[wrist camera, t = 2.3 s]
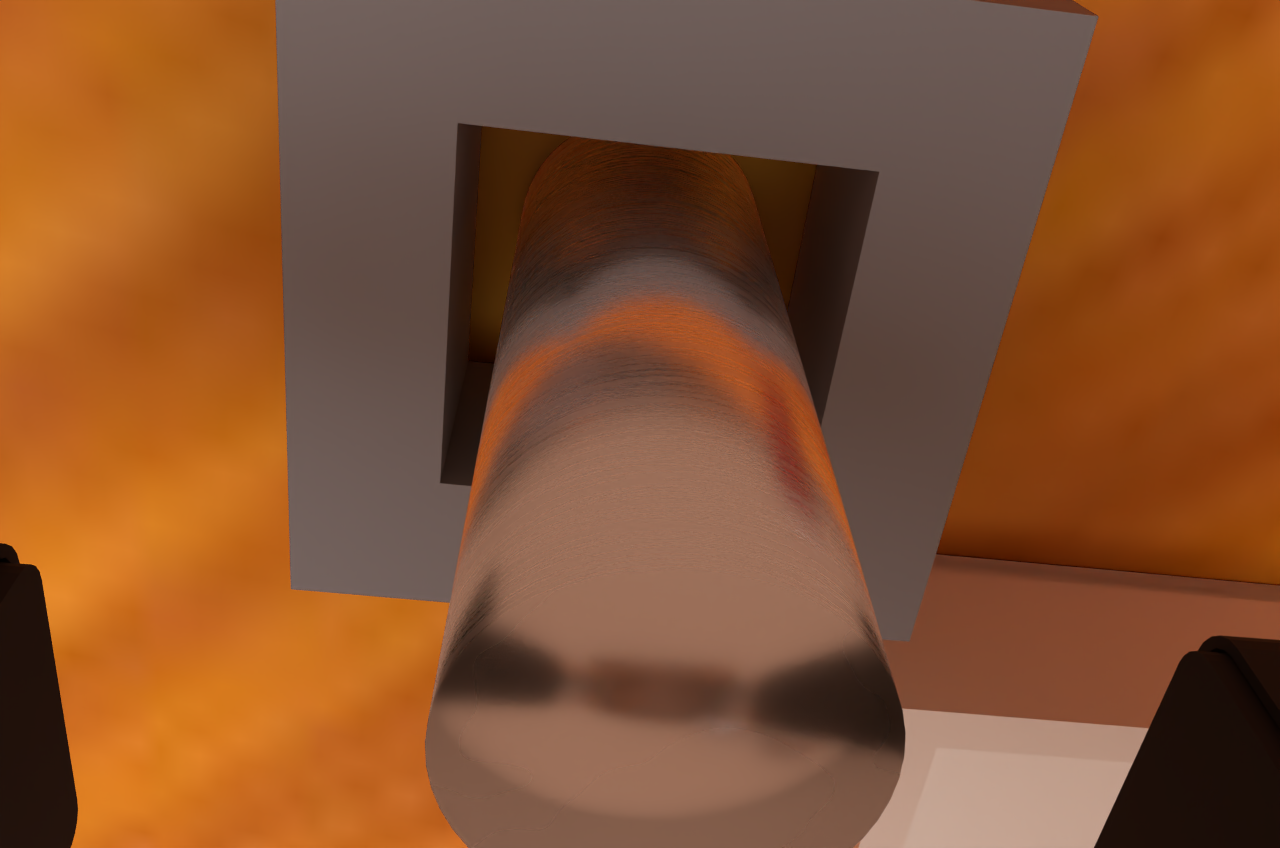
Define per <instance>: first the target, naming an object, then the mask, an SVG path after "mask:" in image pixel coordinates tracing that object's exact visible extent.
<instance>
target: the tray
mask: <svg viewBox="0 0 1280 848" xmlns="http://www.w3.org/2000/svg"><path fill="white" fill-rule="evenodd" d="M1219 635H1221V636H1234V637H1248V638H1261V639H1274V640H1280V586H1279V585H1268V584H1257V583H1246V582H1235V581H1224V580H1213V579H1202V578H1191V577H1180V576H1169V575H1158V574H1147V573H1136V572H1125V571H1114V570H1103V569H1092V568H1081V567H1070V566H1059V565H1048V564H1037V563H1026V562H1015V561H1004V560H993V559H982V558H971V557H960V556H949V555H938V554H936V555H935V559H934V562H933V565H932V568H931V572H930V575H929V578H928V582H927V585H926V588H925V592H924V595H923V598H922V601H921V605H920V608H919V611H918V615H917V618H916V621H915V625H914V628H913V631H912V635H911V638H910V641H909V642H907V641H895V640H884V639H882V641H883V644H884V648H885V651H886V655H887V658H888V661H889V665H890V668H891V672H892V675H893V679H894V682H895V686H896V689H897V693H898V696H899V699H900V703H901V706H902V710H903V717H904V725H905V732H906V735H905V755H904V760H903V764H902V769H901V773H900V777H899V780H898V783H897V785H896V787H895V790H894V792H893V795H892V797H891V800H890V801H889V803H888V805H887V806H886V808H885V809H884V811H883V813H882V814H881V816H880V818H879V819H878V821H877V822H876V823H875V824H874V826H873V827H872V828H871V829H870V830H869V832H868V833H867V834H866V835H865V837H864V838H863V839H862V840H861V841H860V842H859V843H858V844H857V845H856V846H855V847H853V848H1094V846H1095V844H1096V842H1097V840H1098V838H1099V835H1100V833H1101V831H1102V829H1103V827H1104V825H1105V822H1106V820H1107V818H1108V816H1109V814H1110V812H1111V809H1112V807H1113V805H1114V803H1115V801H1116V799H1117V796H1118V794H1119V792H1120V790H1121V788H1122V785H1123V783H1124V781H1125V779H1126V777H1127V775H1128V772H1129V770H1130V768H1131V766H1132V764H1133V762H1134V759H1135V757H1136V755H1137V753H1138V751H1139V749H1140V746H1141V744H1142V742H1143V740H1144V738H1145V736H1146V733H1147V731H1148V729H1149V727H1150V725H1151V722H1152V720H1153V718H1154V716H1155V714H1156V712H1157V709H1158V707H1159V705H1160V703H1161V701H1162V699H1163V696H1164V694H1165V692H1166V690H1167V688H1168V686H1169V683H1170V681H1171V679H1172V677H1173V675H1174V673H1175V670H1176V668H1177V666H1178V664H1179V662H1180V661H1181V659H1182V657H1183V656H1184V655H1185V654H1187V653H1188V652H1190V651H1198V649H1199V648H1200V646H1201V645H1202V643H1203V642H1204V641H1206V640H1207V639H1208V638H1210V637H1211V636H1219Z"/></svg>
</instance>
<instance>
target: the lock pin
mask: <svg viewBox="0 0 1280 848" xmlns="http://www.w3.org/2000/svg"><path fill="white" fill-rule="evenodd" d="M905 735H906V732H905V725H904V717H903V710H902V706H901V703H900V699H899V696H898V693H897V689H896V686H895V682H894V679H893V675H892V672H891V668H890V665H889V661H888V658H887V655H886V651H885V648H884V644H883V641H882V637H881V634H880V630H879V627H878V624H877V620H876V617H875V613H874V610H873V606H872V603H871V599H870V596H869V593H868V589H867V586H866V582H865V579H864V575H863V572H862V568H861V565H860V562H859V558H858V555H857V551H856V548H855V544H854V541H853V537H852V534H851V531H850V527H849V524H848V520H847V517H846V513H845V510H844V506H843V503H842V500H841V496H840V493H839V489H838V486H837V482H836V479H835V475H834V472H833V469H832V465H831V462H830V458H829V455H828V451H827V448H826V444H825V441H824V437H823V434H822V431H821V427H820V424H819V420H818V417H817V413H816V410H815V406H814V403H813V400H812V396H811V393H810V389H809V386H808V382H807V379H806V375H805V372H804V369H803V365H802V362H801V358H800V355H799V351H798V348H797V344H796V341H795V338H794V334H793V331H792V327H791V324H790V320H789V317H788V313H787V310H786V307H785V303H784V300H783V296H782V293H781V289H780V286H779V282H778V279H777V276H776V272H775V269H774V265H773V262H772V258H771V255H770V251H769V248H768V245H767V241H766V238H765V234H764V231H763V227H762V224H761V220H760V217H759V214H758V210H757V207H756V203H755V200H754V197H753V194H752V190H751V187H750V185H749V183H748V181H747V179H746V177H745V175H744V173H743V172H742V170H741V169H740V167H739V166H738V164H737V163H736V161H735V160H734V159H733V158H732V157H731V155H730V154H722V153H713V152H704V151H696V150H687V149H678V148H670V147H661V146H652V145H644V144H635V143H626V142H618V141H609V140H600V139H592V138H583V137H574V136H572V137H570V138H569V139H567V140H566V141H564V142H563V143H562V144H561V145H560V146H559V147H558V148H557V149H555V150H554V151H553V152H552V153H551V155H550V156H549V157H548V158H547V159H546V160H545V162H544V163H543V164H542V166H541V167H540V169H539V170H538V172H537V173H536V175H535V177H534V179H533V181H532V183H531V185H530V187H529V190H528V192H527V196H526V199H525V202H524V206H523V211H522V217H521V222H520V228H519V233H518V238H517V244H516V249H515V255H514V260H513V265H512V271H511V276H510V282H509V287H508V292H507V298H506V303H505V308H504V314H503V319H502V325H501V330H500V335H499V341H498V346H497V352H496V357H495V362H494V368H493V373H492V379H491V384H490V389H489V395H488V400H487V405H486V411H485V416H484V422H483V427H482V432H481V438H480V443H479V449H478V454H477V459H476V465H475V470H474V476H473V481H472V486H471V492H470V497H469V502H468V508H467V513H466V519H465V524H464V529H463V535H462V540H461V546H460V551H459V556H458V562H457V567H456V573H455V578H454V583H453V589H452V594H451V599H450V605H449V610H448V616H447V621H446V626H445V632H444V637H443V643H442V648H441V653H440V659H439V664H438V670H437V675H436V680H435V686H434V691H433V697H432V702H431V707H430V713H429V718H428V725H427V732H426V739H425V751H426V767H427V771H428V776H429V780H430V785H431V788H432V791H433V793H434V796H435V798H436V800H437V803H438V805H439V808H440V810H441V811H442V813H443V814H444V816H445V818H446V819H447V821H448V823H449V824H450V826H451V827H452V829H453V830H454V831H455V832H456V834H457V835H458V836H459V837H460V838H461V840H462V841H463V842H464V843H465V844H466V845H467V847H468V848H853V847H855V846H856V845H857V844H858V843H859V842H860V841H861V840H862V839H863V838H864V837H865V835H866V834H867V833H868V832H869V830H870V829H871V828H872V827H873V826H874V824H875V823H876V822H877V821H878V819H879V818H880V816H881V814H882V813H883V811H884V809H885V808H886V806H887V805H888V803H889V801H890V800H891V797H892V795H893V792H894V790H895V787H896V785H897V783H898V780H899V777H900V773H901V769H902V764H903V760H904V755H905Z"/></svg>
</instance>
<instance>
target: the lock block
mask: <svg viewBox="0 0 1280 848" xmlns="http://www.w3.org/2000/svg"><path fill="white" fill-rule="evenodd" d="M1097 20H1098V16H1097V15H1095V14H1094V13H1092V12H1091V11H1089V10H1087V9H1086V8H1084V7H1082V6H1081V5H1079V4H1078V3H1076V2H1074V1H1073V0H276V38H277V76H278V114H279V152H280V190H281V228H282V266H283V305H284V343H285V381H286V419H287V457H288V495H289V533H290V571H291V589H296V590H308V591H319V592H331V593H343V594H355V595H366V596H378V597H390V598H402V599H413V600H425V601H437V602H449V603H450V599H451V594H452V589H453V583H454V578H455V573H456V567H457V562H458V556H459V551H460V546H461V540H462V535H463V529H464V524H465V519H466V513H467V508H468V502H469V497H470V492H471V486H472V481H473V476H474V470H475V465H476V459H477V454H478V449H479V443H480V438H481V432H482V427H483V422H484V416H485V411H486V405H487V400H488V395H489V389H490V384H491V379H492V373H493V368H494V364H493V363H483V362H473V361H468V352H469V335H470V318H471V301H472V284H473V267H474V250H475V233H476V216H477V199H478V181H479V164H480V147H481V130H482V126H488V127H496V128H505V129H514V130H522V131H531V132H540V133H548V134H557V135H566V136H574V137H583V138H592V139H600V140H609V141H618V142H626V143H635V144H644V145H652V146H661V147H670V148H678V149H687V150H696V151H704V152H713V153H722V154H730V155H739V156H748V157H756V158H765V159H774V160H782V161H791V162H800V163H808V164H817V168H816V173H815V178H814V183H813V188H812V193H811V198H810V203H809V208H808V213H807V218H806V223H805V228H804V232H803V237H802V242H801V247H800V252H799V257H798V262H797V267H796V272H795V277H794V282H793V287H792V292H791V297H790V302H789V307H788V312H787V313H788V317H789V320H790V324H791V327H792V331H793V334H794V338H795V341H796V344H797V348H798V351H799V355H800V358H801V362H802V365H803V369H804V372H805V375H806V379H807V382H808V386H809V389H810V393H811V396H812V400H813V403H814V406H815V410H816V413H817V417H818V420H819V424H820V427H821V431H822V434H823V437H824V441H825V444H826V448H827V451H828V455H829V458H830V462H831V465H832V469H833V472H834V475H835V479H836V482H837V486H838V489H839V493H840V496H841V500H842V503H843V506H844V510H845V513H846V517H847V520H848V524H849V527H850V531H851V534H852V537H853V541H854V544H855V548H856V551H857V555H858V558H859V562H860V565H861V568H862V572H863V575H864V579H865V582H866V586H867V589H868V593H869V596H870V599H871V603H872V606H873V610H874V613H875V617H876V620H877V624H878V627H879V630H880V634H881V637H882V639H884V640H895V641H907V642H909V641H910V638H911V635H912V631H913V628H914V625H915V621H916V618H917V615H918V611H919V608H920V605H921V601H922V598H923V595H924V592H925V588H926V585H927V582H928V578H929V575H930V572H931V568H932V565H933V562H934V559H935V555H936V552H937V549H938V545H939V542H940V539H941V535H942V532H943V529H944V525H945V522H946V519H947V516H948V512H949V509H950V506H951V502H952V499H953V496H954V492H955V489H956V486H957V482H958V479H959V476H960V473H961V469H962V466H963V463H964V459H965V456H966V453H967V449H968V446H969V443H970V439H971V436H972V433H973V430H974V426H975V423H976V420H977V416H978V413H979V410H980V406H981V403H982V400H983V397H984V393H985V390H986V387H987V383H988V380H989V377H990V373H991V370H992V367H993V363H994V360H995V357H996V354H997V350H998V347H999V344H1000V340H1001V337H1002V334H1003V330H1004V327H1005V324H1006V320H1007V317H1008V314H1009V311H1010V307H1011V304H1012V301H1013V297H1014V294H1015V291H1016V287H1017V284H1018V281H1019V278H1020V274H1021V271H1022V268H1023V264H1024V261H1025V258H1026V254H1027V251H1028V248H1029V244H1030V241H1031V238H1032V235H1033V231H1034V228H1035V225H1036V221H1037V218H1038V215H1039V211H1040V208H1041V205H1042V201H1043V198H1044V195H1045V192H1046V188H1047V185H1048V182H1049V178H1050V175H1051V172H1052V168H1053V165H1054V162H1055V158H1056V155H1057V152H1058V149H1059V145H1060V142H1061V139H1062V135H1063V132H1064V129H1065V125H1066V122H1067V119H1068V116H1069V112H1070V109H1071V106H1072V102H1073V99H1074V96H1075V92H1076V89H1077V86H1078V82H1079V79H1080V76H1081V73H1082V69H1083V66H1084V63H1085V59H1086V56H1087V53H1088V49H1089V46H1090V43H1091V39H1092V36H1093V33H1094V30H1095V26H1096V23H1097Z"/></svg>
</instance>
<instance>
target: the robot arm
mask: <svg viewBox="0 0 1280 848" xmlns="http://www.w3.org/2000/svg"><path fill="white" fill-rule="evenodd" d="M77 814H78V805H77V796H76V790H75V784H74V778H73V771H72V765H71V759H70V753H69V746H68V740H67V734H66V728H65V722H64V715H63V709H62V703H61V697H60V690H59V684H58V678H57V672H56V666H55V659H54V653H53V647H52V641H51V634H50V628H49V622H48V616H47V610H46V603H45V597H44V591H43V585H42V579H41V576H40V572H39V570H38V569H37V567H36V566H34V565H30V564H20V563H19V559H18V556H17V553H16V552H15V550H14V549H13V547H12V546H10V545H7V544H2V543H0V848H70V847H71V845H72V842H73V838H74V834H75V830H76V824H77ZM1094 848H1280V640H1274V639H1261V638H1248V637H1234V636H1221V635H1219V636H1211V637H1210V638H1208V639H1207V640H1206V641H1204V642H1203V643H1202V645H1201V646H1200V648H1199V649H1198V651H1190V652H1188V653H1187V654H1185V655H1184V656H1183V657H1182V659H1181V661H1180V662H1179V664H1178V666H1177V668H1176V670H1175V673H1174V675H1173V677H1172V679H1171V681H1170V683H1169V686H1168V688H1167V690H1166V692H1165V694H1164V696H1163V699H1162V701H1161V703H1160V705H1159V707H1158V709H1157V712H1156V714H1155V716H1154V718H1153V720H1152V722H1151V725H1150V727H1149V729H1148V731H1147V733H1146V736H1145V738H1144V740H1143V742H1142V744H1141V746H1140V749H1139V751H1138V753H1137V755H1136V757H1135V759H1134V762H1133V764H1132V766H1131V768H1130V770H1129V772H1128V775H1127V777H1126V779H1125V781H1124V783H1123V785H1122V788H1121V790H1120V792H1119V794H1118V796H1117V799H1116V801H1115V803H1114V805H1113V807H1112V809H1111V812H1110V814H1109V816H1108V818H1107V820H1106V822H1105V825H1104V827H1103V829H1102V831H1101V833H1100V835H1099V838H1098V840H1097V842H1096V844H1095V846H1094Z"/></svg>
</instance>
